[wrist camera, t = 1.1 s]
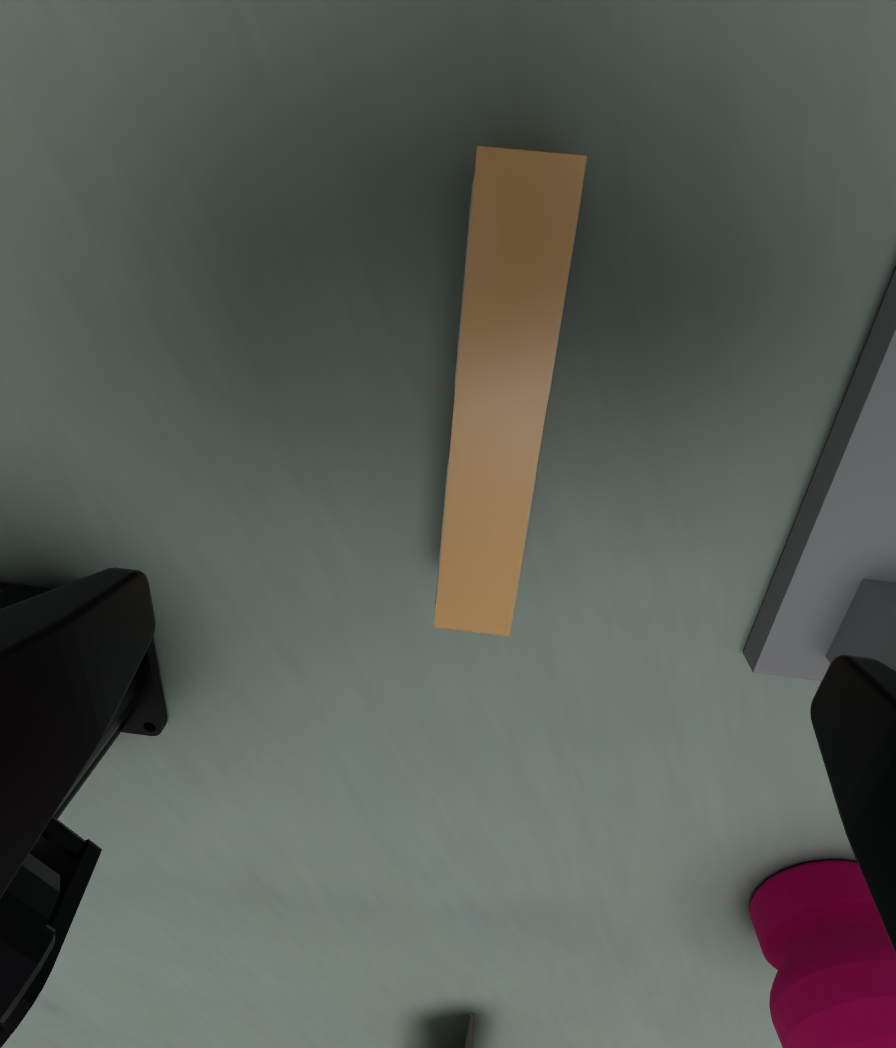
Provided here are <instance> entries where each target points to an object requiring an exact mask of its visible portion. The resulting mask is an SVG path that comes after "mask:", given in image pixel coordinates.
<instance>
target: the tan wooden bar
mask: <svg viewBox="0 0 896 1048" xmlns="http://www.w3.org/2000/svg"><path fill="white" fill-rule="evenodd" d="M586 162H587V156H585V155H573V154H562V153H551V152H540V151H529V150H518V149H507V148H495V147H484V146H477V152H476V163H475V174H474V180H472V190H471V201H470V212H469V224H468V235H467V247H466V258H465V269H464V281H463V292H462V303H461V315H460V326H459V338H458V349H457V360H456V372H455V383H454V388H455V399H454V410H453V422H452V433H451V444H450V455H449V459H448V464H447V474H446V485H445V497H444V508H443V520H442V531H441V542H440V554H439V565H438V576H437V588H436V599H435V604H436V613H435V624H434V627H438V628H446V629H455V630H463V631H471V632H479V633H488V634H496V635H504V636H510V630H511V624H512V618H513V613H514V610H515V604H516V597H517V591H518V585H519V579H520V573H521V567H522V561H523V554H524V548H525V542H526V536H527V530H528V524H529V518H530V512H531V505H532V499H533V493H534V487H535V481H536V475H537V473H536V470H537V464H538V457H539V451H540V445H541V439H542V433H543V427H544V421H545V414H546V408H547V402H548V398H549V395H550V389H551V383H552V376H553V370H554V364H555V358H556V352H557V346H558V340H559V333H560V327H561V321H562V315H563V309H564V303H565V297H566V291H567V284H568V278H569V272H570V266H571V260H572V254H573V248H574V241H575V235H576V229H577V223H578V217H579V211H580V205H581V198H582V192H583V190H582V186H583V180H584V174H585V168H586Z"/></svg>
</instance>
